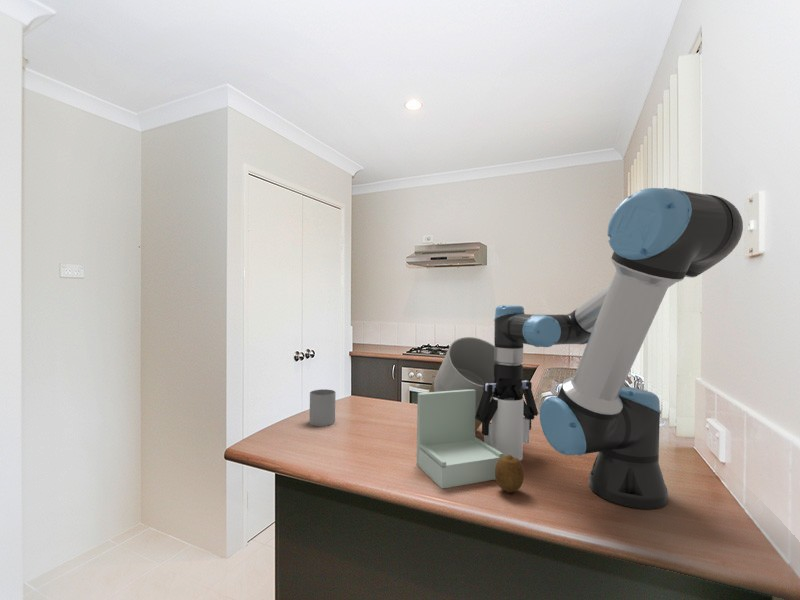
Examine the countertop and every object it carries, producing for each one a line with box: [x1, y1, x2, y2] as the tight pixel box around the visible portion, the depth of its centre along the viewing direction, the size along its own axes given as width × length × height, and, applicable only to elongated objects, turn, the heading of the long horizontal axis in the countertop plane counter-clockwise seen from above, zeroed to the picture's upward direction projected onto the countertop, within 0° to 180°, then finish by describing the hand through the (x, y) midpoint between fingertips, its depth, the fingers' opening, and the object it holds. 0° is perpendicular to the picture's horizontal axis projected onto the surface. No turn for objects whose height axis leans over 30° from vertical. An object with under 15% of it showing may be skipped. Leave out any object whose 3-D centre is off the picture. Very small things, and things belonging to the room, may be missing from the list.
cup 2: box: [490, 395, 525, 462], centre depth 111 cm, size 8×8×16 cm
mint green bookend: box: [416, 389, 503, 489], centre depth 101 cm, size 14×16×18 cm
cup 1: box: [309, 388, 337, 427], centre depth 138 cm, size 8×8×10 cm
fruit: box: [495, 455, 525, 493], centre depth 90 cm, size 6×6×8 cm
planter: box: [428, 336, 496, 432], centre depth 125 cm, size 19×19×26 cm
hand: (506, 444), depth 111 cm, fingers open, 11 cm apart
